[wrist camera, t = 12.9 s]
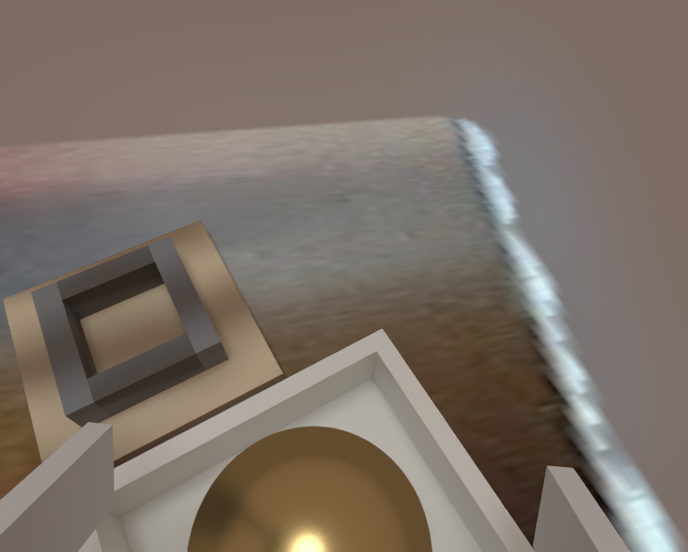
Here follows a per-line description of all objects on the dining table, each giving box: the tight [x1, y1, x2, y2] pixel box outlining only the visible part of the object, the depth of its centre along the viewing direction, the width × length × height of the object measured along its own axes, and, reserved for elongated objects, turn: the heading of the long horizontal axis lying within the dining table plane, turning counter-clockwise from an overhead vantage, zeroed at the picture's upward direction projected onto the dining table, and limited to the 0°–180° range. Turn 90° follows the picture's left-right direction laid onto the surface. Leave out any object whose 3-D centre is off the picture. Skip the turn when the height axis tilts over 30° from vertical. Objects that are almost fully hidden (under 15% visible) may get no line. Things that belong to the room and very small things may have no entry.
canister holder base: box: [3, 220, 284, 468], centre depth 25 cm, size 11×11×3 cm
